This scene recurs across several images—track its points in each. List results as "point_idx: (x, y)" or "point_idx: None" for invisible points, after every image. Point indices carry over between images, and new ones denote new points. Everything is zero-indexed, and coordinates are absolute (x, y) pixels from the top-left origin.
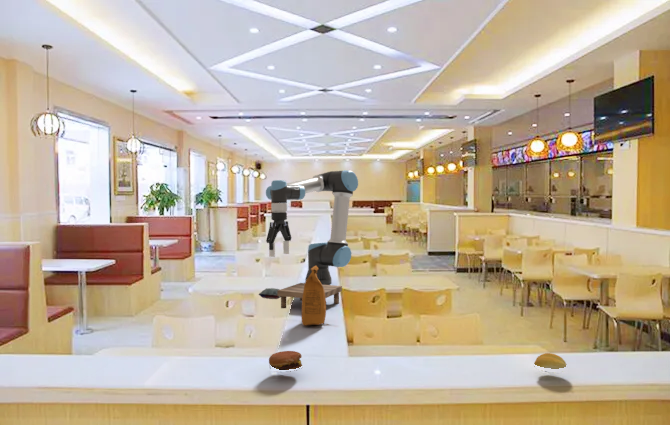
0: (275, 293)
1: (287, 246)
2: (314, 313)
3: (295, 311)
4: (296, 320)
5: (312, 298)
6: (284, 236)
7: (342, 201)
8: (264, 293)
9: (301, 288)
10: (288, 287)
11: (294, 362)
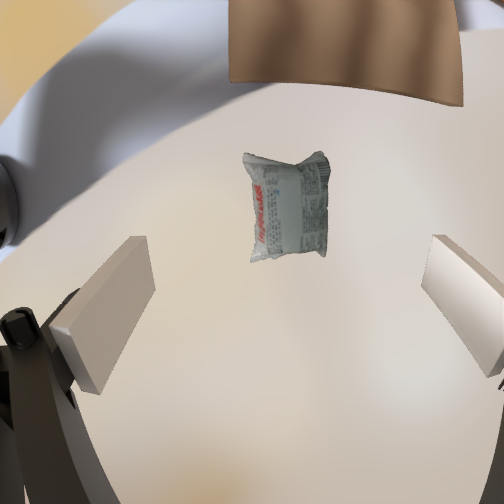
0: (329, 174)
1: (111, 288)
2: None
3: None
4: (500, 18)
5: None
6: (82, 439)
7: None
8: (327, 230)
9: (381, 13)
10: (386, 81)
11: None
